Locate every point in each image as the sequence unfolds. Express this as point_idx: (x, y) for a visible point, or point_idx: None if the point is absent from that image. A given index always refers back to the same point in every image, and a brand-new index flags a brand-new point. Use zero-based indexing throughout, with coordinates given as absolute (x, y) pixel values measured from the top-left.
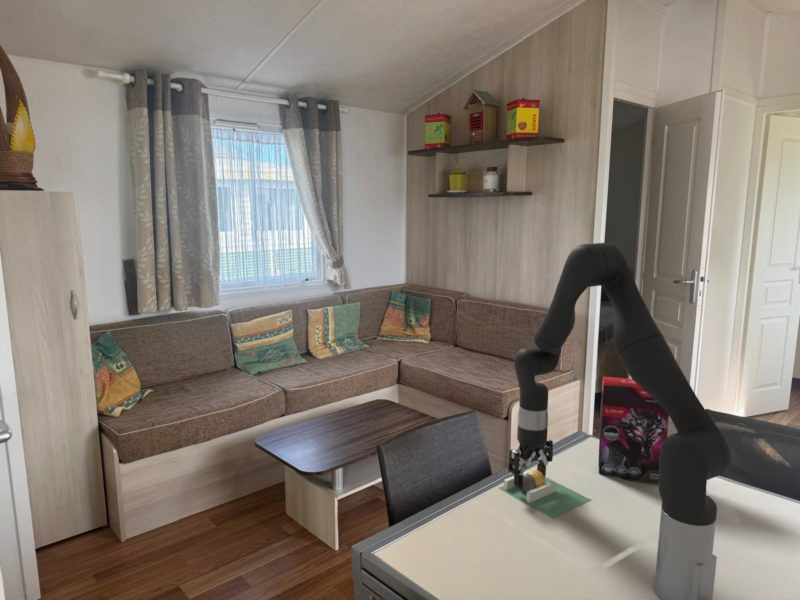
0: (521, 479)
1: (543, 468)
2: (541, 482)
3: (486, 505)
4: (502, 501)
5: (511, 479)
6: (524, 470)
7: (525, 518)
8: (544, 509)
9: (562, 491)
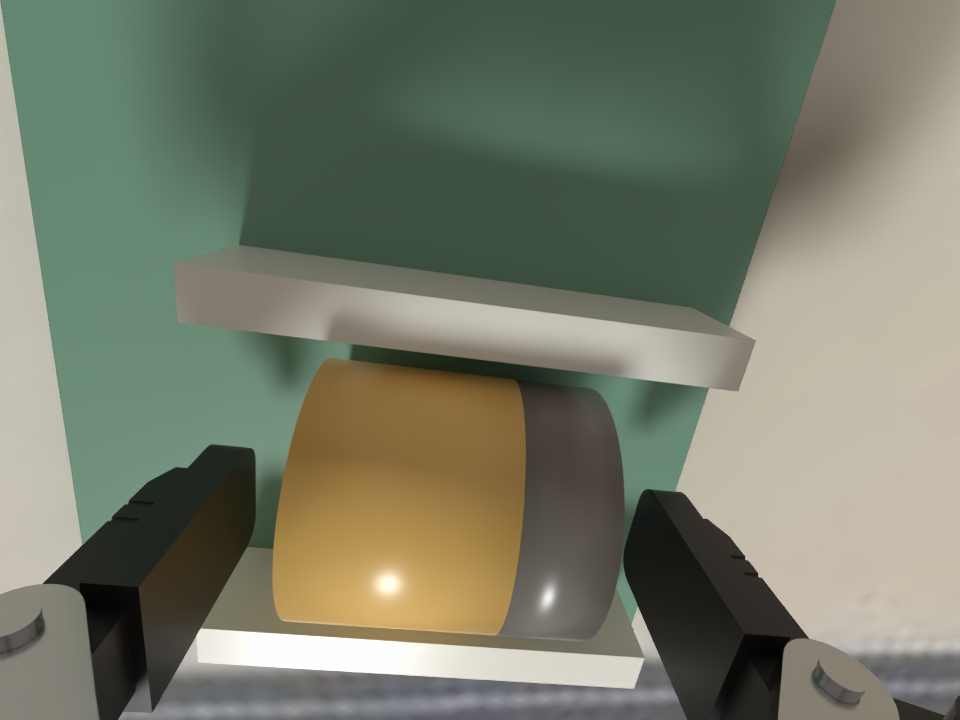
0: (738, 577)
1: (161, 565)
2: (404, 391)
3: (886, 540)
4: (752, 500)
5: (571, 652)
6: (782, 715)
7: (924, 188)
8: (723, 96)
9: (164, 180)
